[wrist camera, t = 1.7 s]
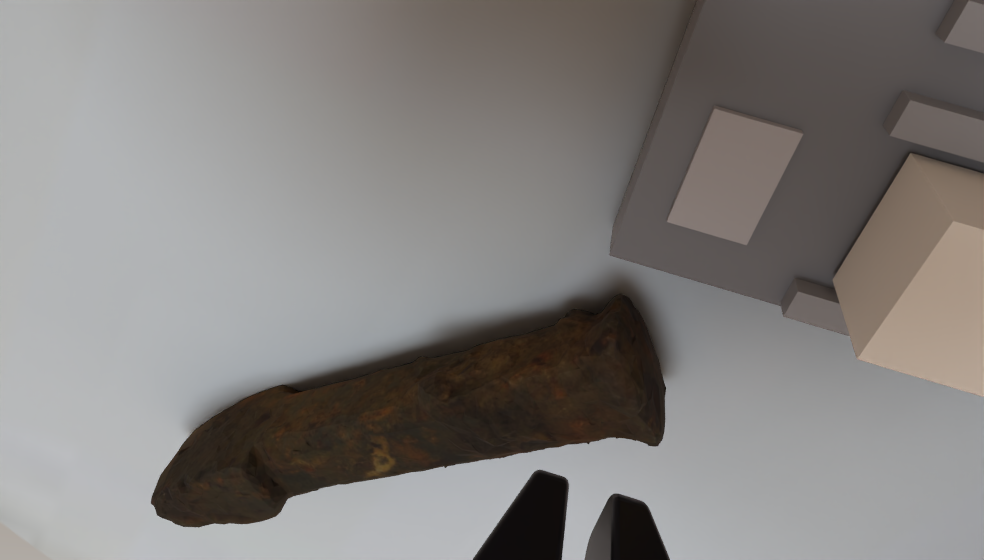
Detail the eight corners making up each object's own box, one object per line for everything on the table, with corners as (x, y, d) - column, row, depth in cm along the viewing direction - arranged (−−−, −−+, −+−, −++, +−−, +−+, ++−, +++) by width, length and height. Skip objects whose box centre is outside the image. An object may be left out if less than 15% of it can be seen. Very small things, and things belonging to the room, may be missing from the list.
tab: (1072, 198, 16) (1144, 276, 13) (974, 321, 18) (1021, 407, 15) (910, 152, 16) (953, 221, 13) (832, 280, 18) (856, 359, 15)
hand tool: (637, 267, 21) (628, 373, 17) (674, 371, 23) (673, 487, 19) (157, 377, 28) (77, 469, 25) (214, 449, 30) (148, 545, 26)
